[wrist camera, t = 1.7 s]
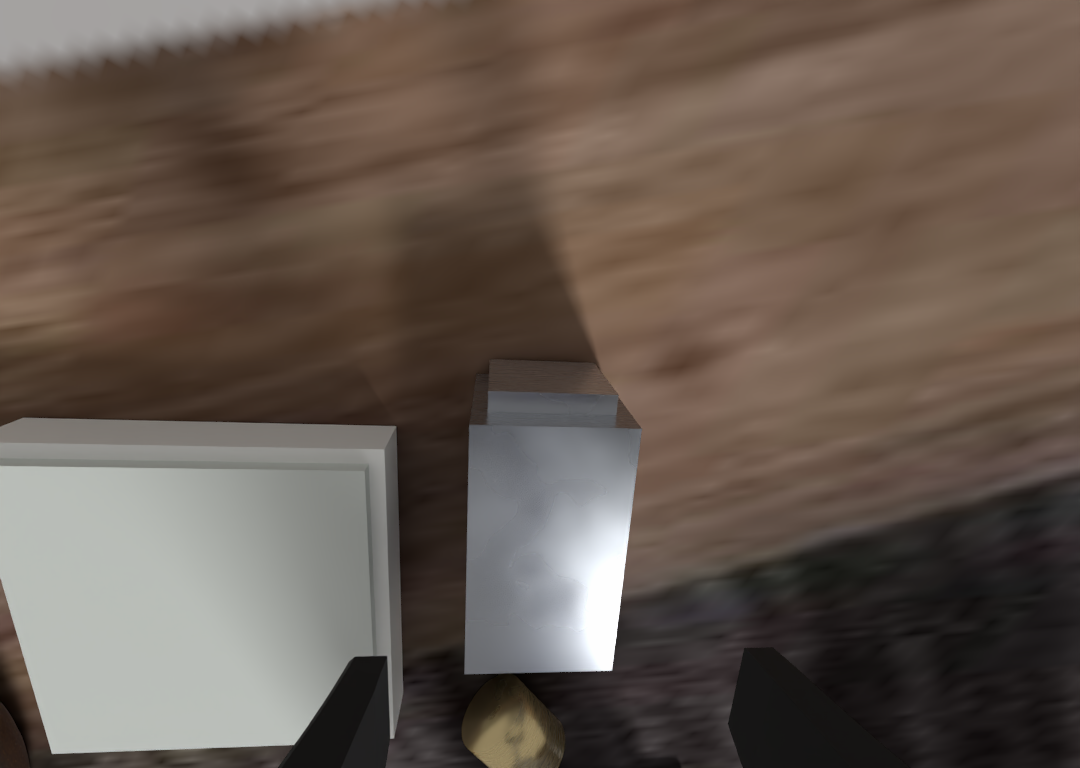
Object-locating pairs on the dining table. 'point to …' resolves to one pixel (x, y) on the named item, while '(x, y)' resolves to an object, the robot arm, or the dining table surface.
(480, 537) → the block
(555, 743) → the yellow rounded lump
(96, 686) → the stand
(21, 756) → the plant saucer
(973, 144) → the dining table surface
